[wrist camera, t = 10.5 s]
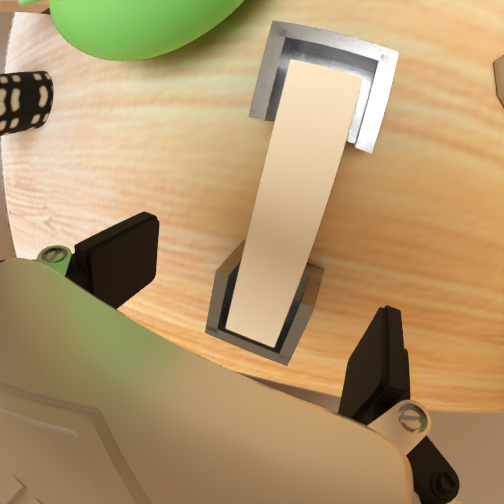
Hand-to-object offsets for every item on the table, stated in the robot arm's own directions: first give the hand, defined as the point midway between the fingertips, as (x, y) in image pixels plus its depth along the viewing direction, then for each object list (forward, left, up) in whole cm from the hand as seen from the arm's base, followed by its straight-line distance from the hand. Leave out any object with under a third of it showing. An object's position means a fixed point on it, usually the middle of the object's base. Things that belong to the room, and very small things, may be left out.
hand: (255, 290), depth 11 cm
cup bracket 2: (+1, -9, -14) cm, 17 cm away
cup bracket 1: (+1, +8, -14) cm, 17 cm away
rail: (+1, 0, -12) cm, 12 cm away
